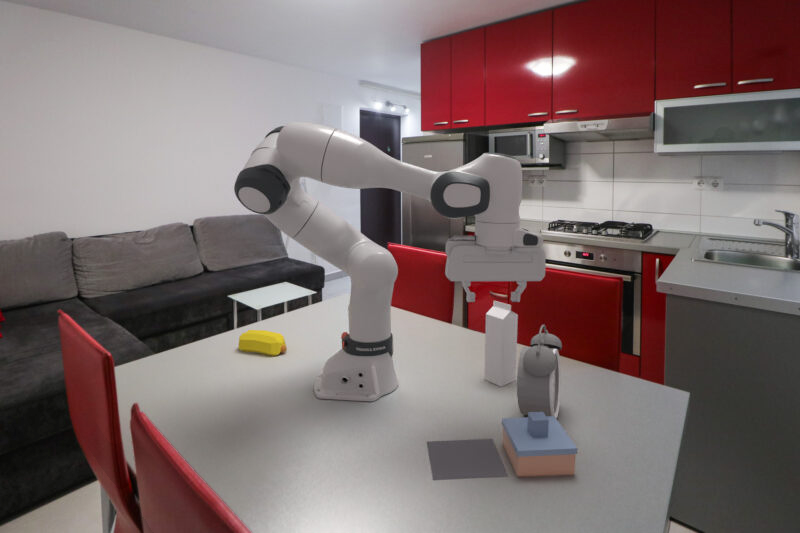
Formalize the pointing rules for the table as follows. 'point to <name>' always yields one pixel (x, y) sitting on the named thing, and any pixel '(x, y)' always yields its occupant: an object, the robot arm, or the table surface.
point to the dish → (539, 462)
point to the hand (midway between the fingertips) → (493, 301)
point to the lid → (538, 435)
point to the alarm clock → (540, 375)
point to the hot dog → (262, 342)
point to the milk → (500, 344)
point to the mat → (465, 459)
